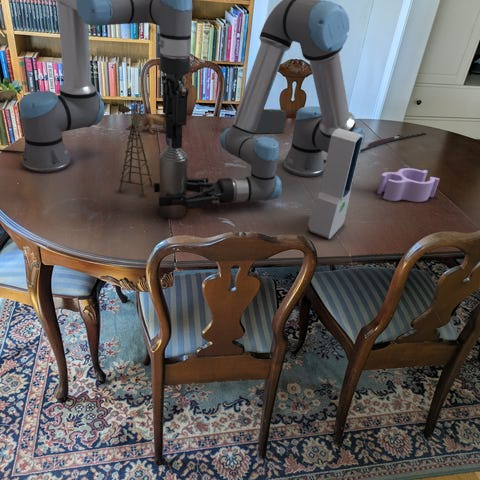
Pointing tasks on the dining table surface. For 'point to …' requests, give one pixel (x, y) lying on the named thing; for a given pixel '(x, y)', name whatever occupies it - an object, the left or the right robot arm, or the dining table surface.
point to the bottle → (173, 179)
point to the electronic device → (336, 183)
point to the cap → (169, 140)
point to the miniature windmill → (134, 129)
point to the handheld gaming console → (271, 121)
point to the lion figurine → (155, 121)
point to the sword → (386, 139)
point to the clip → (407, 185)
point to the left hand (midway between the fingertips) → (173, 144)
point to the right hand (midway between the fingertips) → (156, 194)
